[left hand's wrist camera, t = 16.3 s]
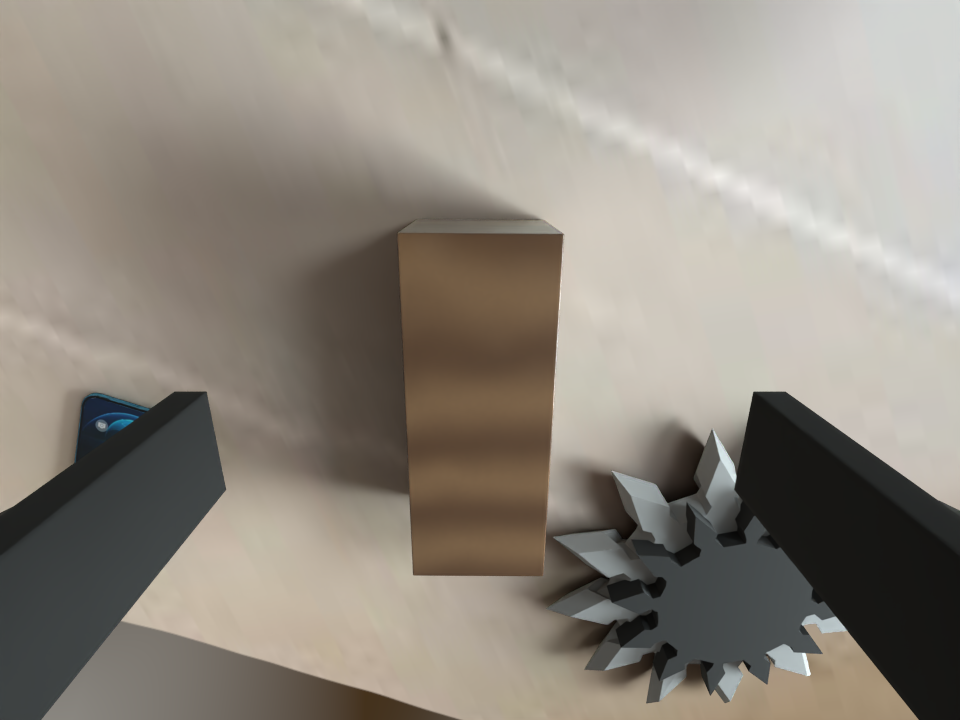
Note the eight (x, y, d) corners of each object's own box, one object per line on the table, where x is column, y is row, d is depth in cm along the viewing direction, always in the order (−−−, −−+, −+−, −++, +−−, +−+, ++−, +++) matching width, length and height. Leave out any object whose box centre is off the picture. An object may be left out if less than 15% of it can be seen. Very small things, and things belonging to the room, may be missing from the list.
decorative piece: (637, 387, 34) (1017, 502, 37) (622, 366, 38) (968, 473, 41) (495, 695, 44) (804, 766, 47) (493, 655, 48) (781, 723, 51)
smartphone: (186, 423, 39) (156, 572, 43) (190, 419, 39) (160, 567, 44) (81, 390, 38) (62, 546, 43) (87, 387, 38) (68, 541, 43)
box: (416, 218, 34) (396, 232, 26) (544, 219, 34) (564, 233, 26) (426, 498, 42) (412, 575, 34) (531, 499, 42) (543, 576, 34)
